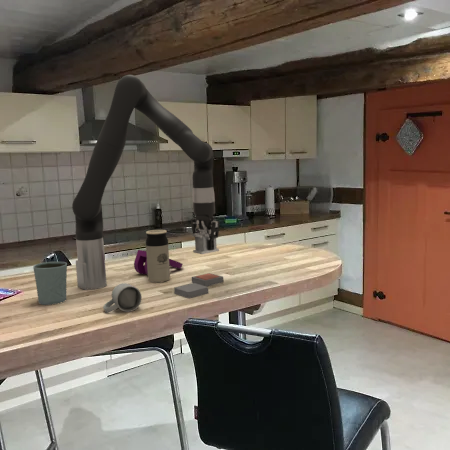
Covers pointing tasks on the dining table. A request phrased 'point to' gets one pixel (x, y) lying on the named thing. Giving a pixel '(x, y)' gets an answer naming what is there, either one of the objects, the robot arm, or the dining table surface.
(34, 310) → the dining table surface
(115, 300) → the ceramic mug
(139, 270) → the mounting bracket
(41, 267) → the green tapered cup
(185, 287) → the stand left
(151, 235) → the travel mug
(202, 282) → the stand right
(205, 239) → the housing
